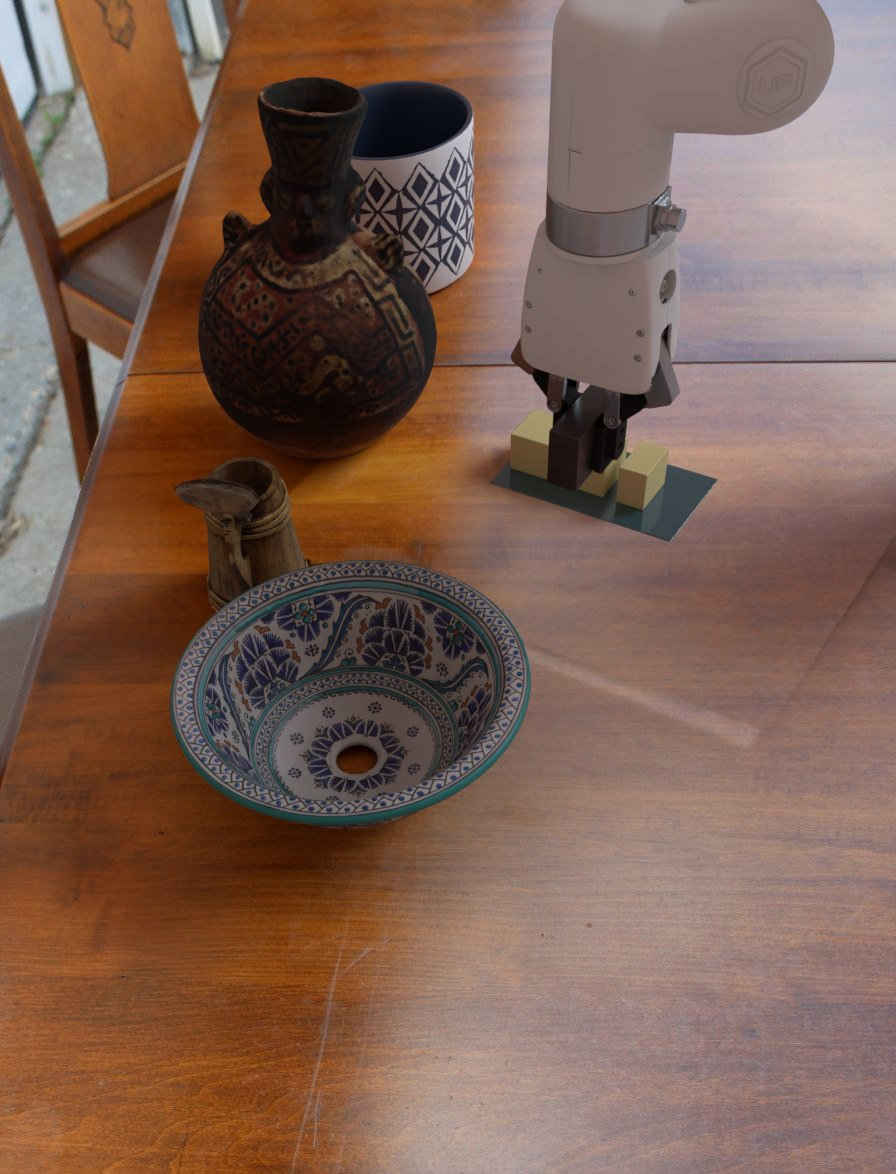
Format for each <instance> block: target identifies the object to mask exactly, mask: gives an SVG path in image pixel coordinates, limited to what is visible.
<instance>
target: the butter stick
mask: <svg viewBox="0 0 896 1174" xmlns="http://www.w3.org/2000/svg"><path fill="white" fill-rule="evenodd" d="M552 427H553V413H549V412H546V411H543V410H539V409H536V408H533V409H532V410H531V411H530V412H529V413H528V415H526V417H525V418H524V419H523V420H522V421H521V422H520V423H519V424H518V426H517V427H516V428H515V429H514V430H513V431H512V432H511V433H510V456H509V457H510V458H509V460H510V468H512V469H515V470H518V471H521V472H525V473H528V474H531V475H534V476H537V477H540V478H543V479H547V469H548V448H549V431H550V429H551V428H552ZM628 442H629V436H627V435H626V438H625V447H624V450H623V452H622V454H621V456H620V457H619V458H618V459H617V460H613V461H612V462H611V463H610V464H609V465H608V467H607V468H606V469H605V470H604V471H603V473H602V474H599V473H596V472H594V471H593V472H592V473H591V474H590V475H589V477H588V478H587V479H586V480H585V481H584V483H583V484H582V485H581V486H580V487H579V488H578V490H581V491H584V492H587V493H590V494H594V495H597V496H600V497H604V495H605V494H606V493H607V492H608V491H609V489H610V488H611V487H612V486H613V485H614V483H615V482H616V481H617V480H618V478H619V468H620V466H621V465H622V464H623V463H624V461H625V460H626V453H627V452H628Z"/></svg>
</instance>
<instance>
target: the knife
mask: <svg viewBox="0 0 896 1174" xmlns="http://www.w3.org/2000/svg"><path fill="white" fill-rule="evenodd" d="M650 385H651V384H650ZM581 393H582V394H581V395H580V397H579V398H578V399H577V400H576V401H575V402H574V403H573V404H572V406H571V407H570V408H569V409H568V410H567V411H566V412H565V414H564V415H563V416H562V417H561V418H560V419H559V420H558V421H557V423H556V424H555V425H554V426H553V427H552V428H551V429H550V431H549V448H548V469H547V483H549V484H552V485H555V486H558V487H561V488H565V489H568V490H571V491H574V492H576V491H577V490H578V488H579V487H580V486H581V485H582V484H583V483H584V481H585V480H586V479H587V478H588V477H589V475H590V474H591V473H592V472H593V471H594V470H593V457H594V444H595V431H596V427H597V425H598V424H599V423H600V422H601V421H602V420H603V409H604V388H601V387H598V386H594V385H590V384H588V386H587V388H585V390H584V391H582V392H581Z"/></svg>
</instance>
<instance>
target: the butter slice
mask: <svg viewBox="0 0 896 1174" xmlns="http://www.w3.org/2000/svg"><path fill="white" fill-rule="evenodd" d="M669 451H670V448H668V447H665V446H662V445H658V444H655V443H651V442H648V441H644V440H641V441H640V442H639V443H638V444H637V446H636V447H635V448H634V449H633V450H632V451H631V452H630V453H631V454H630V455H629V457H628V458H627V459H626V460H625V461H624V463H623V464H622V465H621V466H620V468H619V478H618V488H617V498H616V502H618V503H621V504H625V505H628V506H631V507H634V508H637V509H640V510H644V508H645V507H646V506H647V505H648V503H649V502H650V501H651V500H652V498H653V497H654V496H655V495H656V493H657V492H658V491H659V490H660V488H661V487H662V486H663V485H664V483H665V475H666V468H667V464H668V461H669V460H668V459H669Z"/></svg>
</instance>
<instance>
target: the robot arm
mask: <svg viewBox="0 0 896 1174" xmlns="http://www.w3.org/2000/svg"><path fill="white" fill-rule="evenodd" d="M835 45H836V44H835V37H834V32H833V29H832V25H831V23H830V21H829V18H828V16H827V14H826V12H825V11H824V9H823V7H822V6H821V4H820V3H819V2H818V0H564V1H563V3H562V4H561V6H560V7H559V9H558V12H557V14H556V16H555V19H554V23H553V29H552V42H551V47H552V48H551V66H550V67H551V69H550V71H551V72H550V97H549V125H548V145H547V146H548V147H547V150H548V151H547V171H546V192H545V193H546V195H545V197H546V199H545V217H544V219H543V221H542V222H540V224H539V225H538V228H537V230H536V233H535V237H534V241H533V245H532V249H531V253H530V256H529V257H530V258H529V262H528V267H527V272H526V277H525V285H524V291H523V300H522V308H521V320H520V321H521V322H520V337H519V339H518V340H517V342H516V344H515V346H514V348H513V349H512V352H511V354H510V359H511V362H512V363H513V364H515V365H516V366H517V367H518V368H520V369H522V371H523V372H525V373H526V374H527V375H529V376H532V379H533V381H534V382H535V384H536V386H537V387H538V388H539V389H540V390H541V392H542V393H543V394H544V396H545V397H546V407H547V409H548V410H549V411H550V412H552V414H553V426H554V425H555V424H556V423H557V421H558V420H559V419H560V418H561V417H562V416H563V415H564V414H565V412H566V411H567V410H568V409H569V408H570V407H571V406H572V404H573V403H574V402H575V401H576V400H577V399H578V398H579V397H580V395H581V394H582V393H583V392H580V391H579V389H580V385H581V384H580V383H583V384H586V385H594V386H598V387H601V388H604V409H603V420H602V421H601V422H600V423H599V424H598V425H597V427H596V431H595V444H594V457H593V470H594V472H596V473H599V474H602V473H603V471H604V470H605V469H606V468H607V467H608V465H609V464H610V463H611V462H612V461H613V460H617V459H618V458H619V457H620V456H621V454H622V452H623V450H624V447H625V438H626V436H627V428H628V427H627V426H628V419H630V418H632V417H633V416H635V415H637V414H638V413H640V412H641V411H643V410H645V409H649V410H650V409H657V408H663V407H668V406H670V405H672V403H673V402H674V401H675V400H676V399H677V397H678V396H679V395H680V393H681V388H680V386H679V382H678V379H677V376H676V372H675V370H674V367H673V361H674V360H675V357H676V354H677V348H678V339H679V328H680V326H679V325H680V309H681V308H680V307H681V306H680V305H681V302H680V301H681V279H680V278H681V271H680V269H681V268H680V256H679V247H678V239H677V233H680V232H682V230H683V228H684V226H685V223H686V219H687V214H688V213H687V209H685V208H682V207H677V205H676V204H673V203H672V199H671V197H672V187H673V186H672V185H670V177H671V176H670V175H671V166H672V160H673V150H674V141H675V135H676V134H695V135H696V134H698V135H714V136H715V135H717V136H751V135H759V134H765V133H767V132H772V131H775V130H777V129H780V128H783V127H784V126H787V125H789V124H791V123H792V122H794V121H795V120H797V119H799V118H800V117H801V116H802V115H803V114H805V113H806V112H807V111H808V110H809V109H810V108H811V107H812V106H813V105H814V104H815V103H816V101H817V100H818V99H819V97H820V96H821V95H822V93H823V92H824V90H825V88H826V86H827V84H828V82H829V80H830V77H831V74H832V70H833V66H834V63H835V62H834V61H835V52H836V51H835V50H836V49H835ZM650 384H651V385H650Z"/></svg>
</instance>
